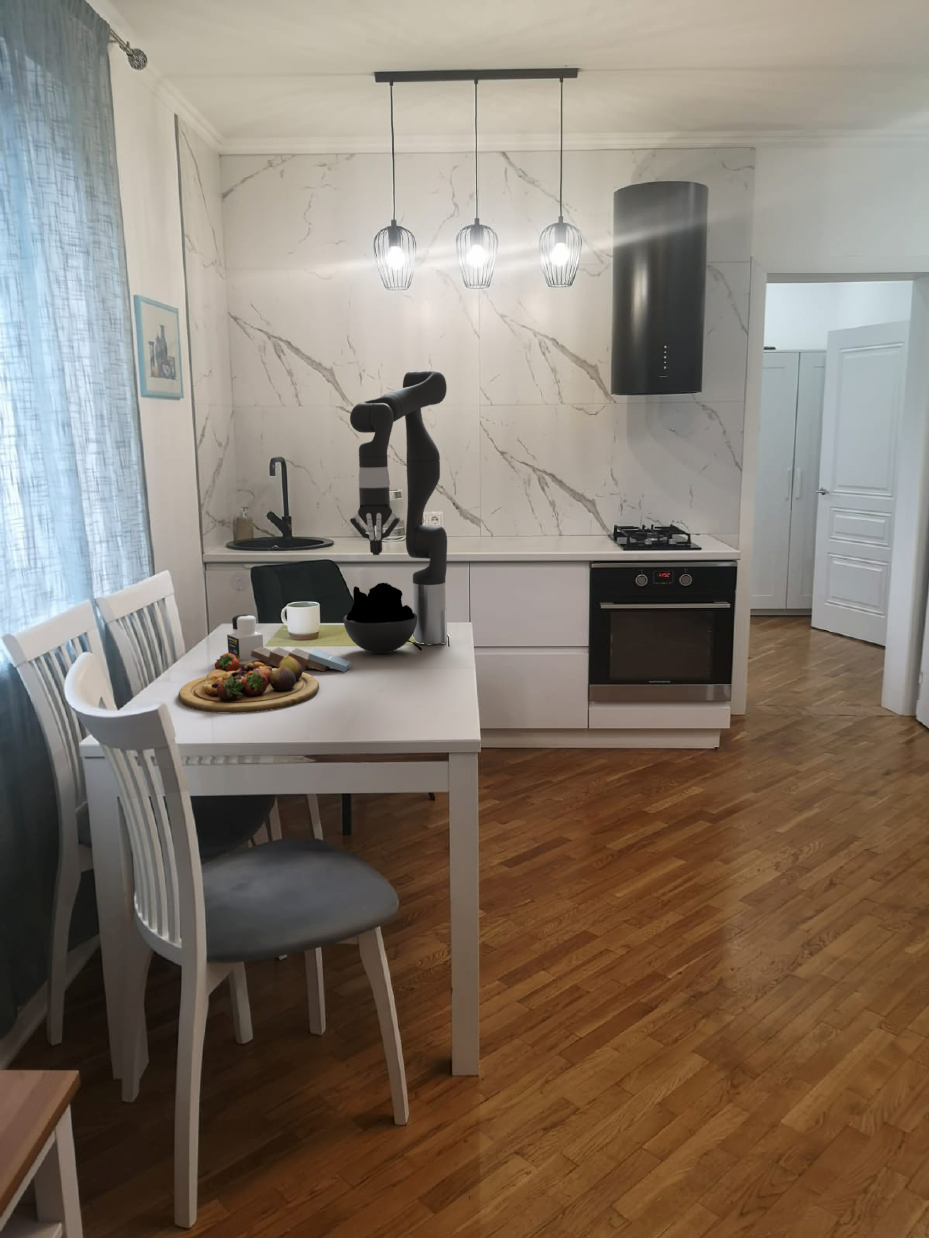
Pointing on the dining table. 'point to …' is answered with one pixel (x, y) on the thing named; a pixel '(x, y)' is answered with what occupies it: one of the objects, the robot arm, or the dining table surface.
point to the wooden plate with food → (249, 686)
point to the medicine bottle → (244, 637)
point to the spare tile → (329, 660)
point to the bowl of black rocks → (380, 619)
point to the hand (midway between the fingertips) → (376, 554)
